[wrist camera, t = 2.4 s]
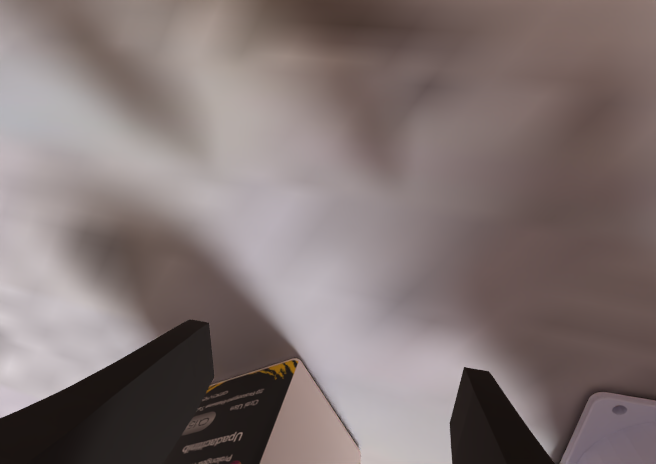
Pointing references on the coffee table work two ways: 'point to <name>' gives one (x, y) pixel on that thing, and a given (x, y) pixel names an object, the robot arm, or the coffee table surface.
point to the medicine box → (266, 422)
